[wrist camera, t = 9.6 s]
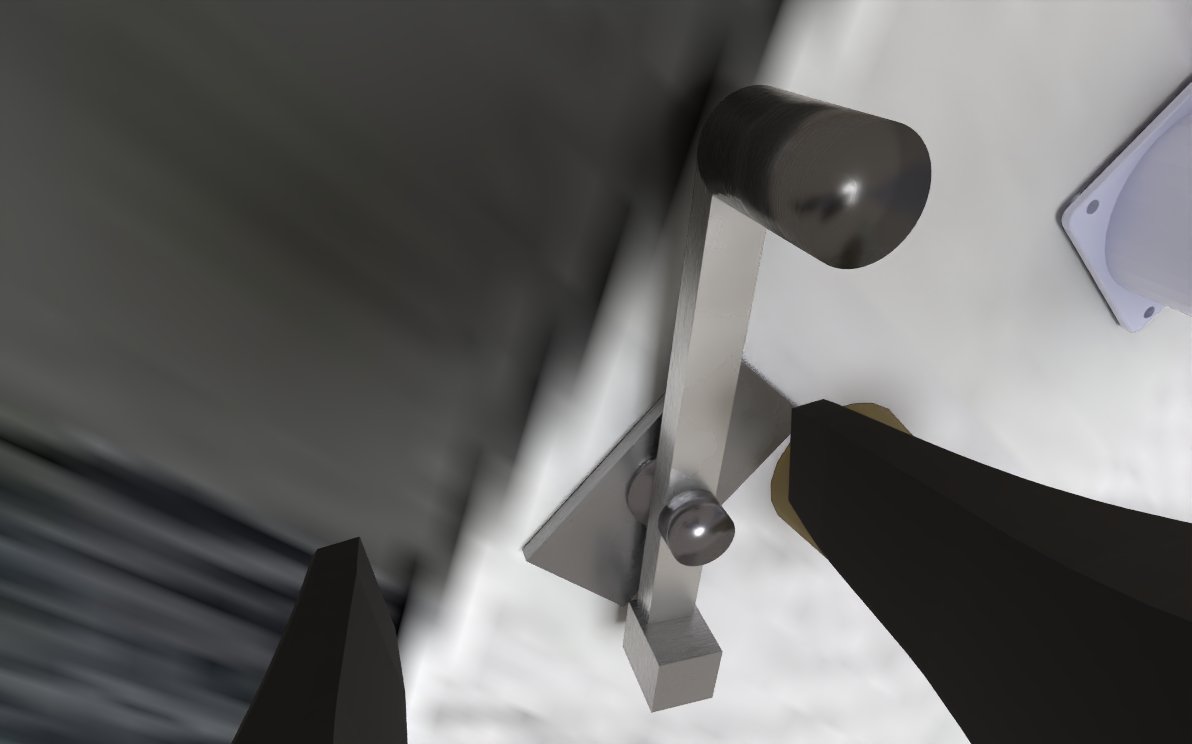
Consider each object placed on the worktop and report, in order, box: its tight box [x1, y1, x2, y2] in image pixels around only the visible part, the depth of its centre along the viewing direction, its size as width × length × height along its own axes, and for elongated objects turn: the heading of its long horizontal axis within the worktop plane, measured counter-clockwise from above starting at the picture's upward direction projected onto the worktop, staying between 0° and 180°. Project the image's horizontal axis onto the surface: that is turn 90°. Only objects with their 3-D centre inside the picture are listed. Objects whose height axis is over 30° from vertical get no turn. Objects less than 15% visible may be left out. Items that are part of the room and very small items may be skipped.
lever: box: [623, 85, 931, 713], centre depth 21 cm, size 21×3×6 cm, turn 176°
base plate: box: [522, 360, 797, 606], centre depth 26 cm, size 10×5×1 cm, turn 137°
